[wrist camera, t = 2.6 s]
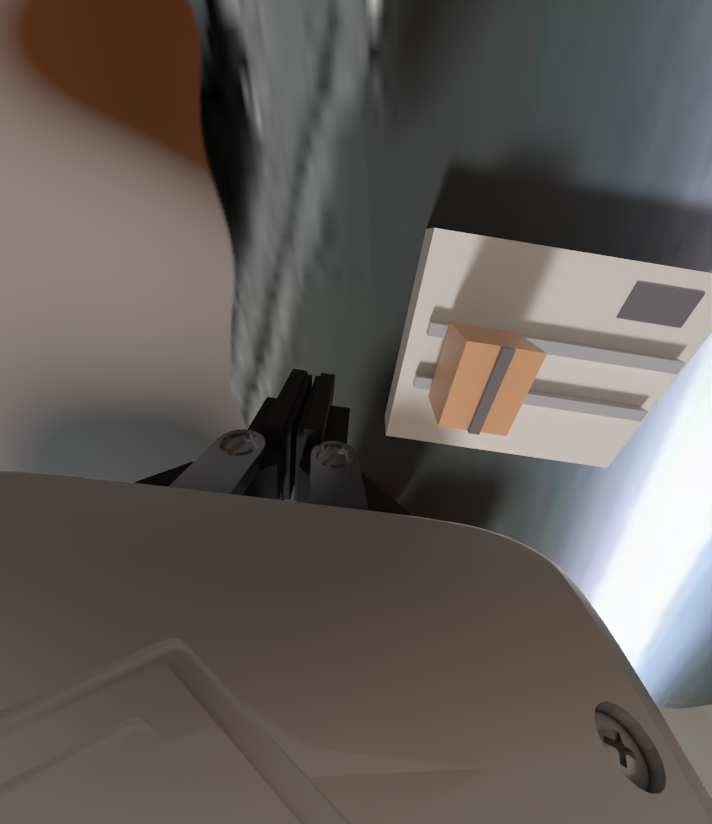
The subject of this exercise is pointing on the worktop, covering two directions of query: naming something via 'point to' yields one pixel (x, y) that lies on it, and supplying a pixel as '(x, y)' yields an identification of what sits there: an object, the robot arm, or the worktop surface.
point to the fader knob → (483, 378)
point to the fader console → (551, 340)
